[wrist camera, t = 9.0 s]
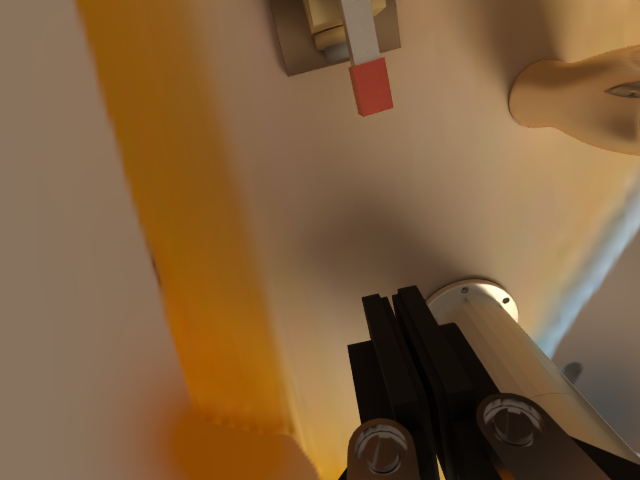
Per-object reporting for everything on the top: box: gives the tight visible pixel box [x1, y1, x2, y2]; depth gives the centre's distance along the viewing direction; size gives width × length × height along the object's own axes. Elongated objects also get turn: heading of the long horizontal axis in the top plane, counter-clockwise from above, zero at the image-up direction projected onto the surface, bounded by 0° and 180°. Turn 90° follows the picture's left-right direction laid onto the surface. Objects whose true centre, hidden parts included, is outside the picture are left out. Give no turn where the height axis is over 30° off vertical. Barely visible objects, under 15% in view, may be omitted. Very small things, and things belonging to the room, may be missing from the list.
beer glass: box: [509, 45, 640, 156], centre depth 28 cm, size 7×7×15 cm
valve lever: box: [337, 0, 393, 117], centre depth 22 cm, size 10×3×3 cm, turn 15°
